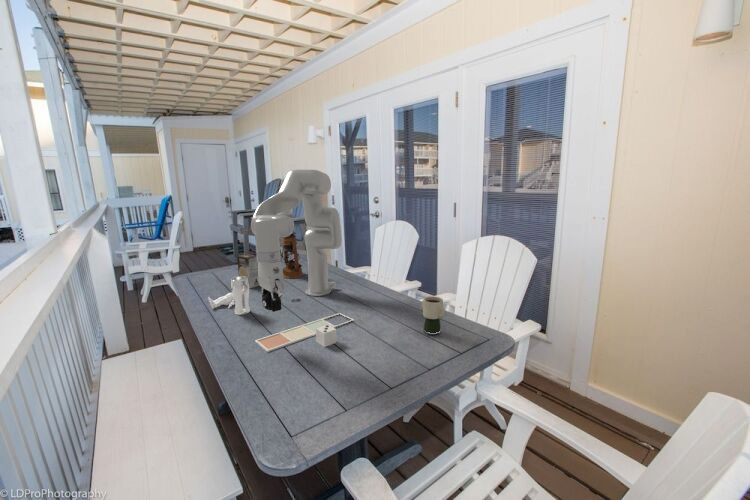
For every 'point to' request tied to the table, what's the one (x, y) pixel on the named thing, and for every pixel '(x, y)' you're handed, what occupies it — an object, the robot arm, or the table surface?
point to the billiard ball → (267, 301)
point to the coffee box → (248, 268)
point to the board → (295, 334)
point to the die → (326, 335)
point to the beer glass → (240, 294)
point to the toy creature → (222, 301)
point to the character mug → (432, 313)
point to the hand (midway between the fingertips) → (271, 307)
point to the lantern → (292, 267)
